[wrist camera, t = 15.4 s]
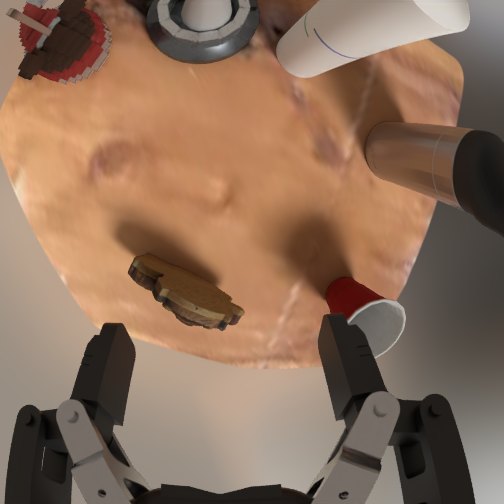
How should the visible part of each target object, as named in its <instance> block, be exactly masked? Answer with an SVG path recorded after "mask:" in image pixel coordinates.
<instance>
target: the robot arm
mask: <svg viewBox="0 0 504 504" xmlns="http://www.w3.org/2000/svg"><path fill="white" fill-rule="evenodd" d="M365 154H366V160H367V163H368V165H369V167H370V169H371V171H372V172H373V173H374V174H375V175H376V176H377V177H379V178H381V179H383V180H386V181H389V182H392V183H395V184H397V185H400V186H403V187H406V188H408V189H411V190H414V191H416V192H419V193H422V194H424V195H427V196H429V197H432V198H434V199H437V200H439V201H442V202H444V203H447V204H449V205H452V206H454V207H456V208H459V209H461V210H463V211H466V212H468V213H470V214H472V215H473V216H474V217H475V218H476V219H477V220H478V221H479V222H480V223H481V224H482V225H484V226H485V227H487V228H489V229H491V230H492V231H494V232H496V233H498V234H499V235H501V236H502V237H504V142H503V141H502V140H501V139H500V138H499V137H498V136H497V135H495V134H493V133H490V132H487V131H481V130H474V129H468V128H460V127H451V126H442V125H432V124H419V123H405V122H383V123H380V124H378V125H376V126H375V127H374V128H373V129H372V130H371V132H370V133H369V135H368V138H367V141H366V146H365ZM318 349H319V354H320V358H321V362H322V365H323V369H324V373H325V377H326V381H327V385H328V389H329V393H330V397H331V401H332V406H333V410H334V414H335V418H336V421H338V420H343V419H344V421H345V424H346V428H345V429H344V431H343V433H342V435H341V437H340V439H339V441H338V442H337V444H336V446H335V448H334V450H333V452H332V453H331V455H330V457H329V458H328V460H327V462H326V464H325V465H324V467H323V468H322V469H321V471H320V472H319V473H318V475H317V476H316V478H315V479H314V481H313V483H312V484H311V486H310V487H309V489H308V490H307V492H306V493H302V492H300V491H297V490H294V489H289V488H282V487H281V484H278V485H269V486H268V485H267V486H255V487H254V486H253V487H248V488H244V489H241V490H237V491H232V492H228V493H224V494H216V493H212V492H208V491H204V490H200V489H196V488H193V487H190V486H177V485H167V484H161V488H157V489H152V488H151V486H150V485H149V484H148V482H147V481H146V479H145V478H144V477H143V476H142V475H141V474H140V473H139V472H138V471H137V470H136V469H135V467H134V466H133V465H132V463H131V461H130V460H129V458H128V456H127V455H126V453H125V452H124V450H123V448H122V447H121V445H120V443H119V441H118V439H117V438H116V436H115V434H114V432H113V426H114V425H120V426H123V421H124V414H125V409H126V403H127V397H128V392H129V386H130V381H131V377H132V371H133V367H134V362H135V357H136V356H135V355H136V354H135V353H136V352H135V347H134V344H133V342H132V340H131V338H130V336H129V334H128V332H127V330H126V328H125V326H124V325H123V324H122V323H104V324H103V326H102V329H101V332H100V335H94V337H93V338H92V339H91V340H90V342H89V343H88V345H87V347H86V350H85V353H84V357H83V359H82V362H81V366H80V368H79V372H78V375H77V378H76V381H75V385H74V388H73V392H72V395H71V397H70V399H69V400H67V401H65V402H63V403H62V404H61V405H60V406H59V408H58V409H53V410H45V411H40V410H39V409H37V408H36V407H35V406H33V405H26V406H24V407H23V408H21V410H20V411H19V413H18V415H17V419H16V424H15V428H14V433H13V438H12V443H11V449H10V455H9V462H8V469H7V478H6V489H5V504H71V490H72V475H73V477H74V479H75V481H76V483H77V485H78V487H79V489H80V491H81V493H82V495H83V497H84V499H85V501H86V502H87V504H364V503H365V502H366V500H367V498H368V496H369V494H370V492H371V490H372V488H373V486H374V484H375V482H376V480H377V478H378V476H379V474H380V471H381V464H380V462H381V459H382V456H383V454H384V452H385V450H386V447H387V446H388V445H389V446H394V451H395V455H396V461H397V466H398V471H399V476H400V482H401V488H402V494H403V500H404V504H475V498H474V493H473V487H472V482H471V478H470V473H469V469H468V464H467V461H466V456H465V453H464V449H463V445H462V442H461V438H460V435H459V432H458V428H457V425H456V422H455V419H454V416H453V413H452V410H451V407H450V404H449V402H448V401H447V400H446V398H444V397H443V396H441V395H439V394H431V395H428V396H427V397H426V398H424V399H423V400H422V401H415V400H401V399H397V398H396V397H395V396H394V395H392V394H390V393H389V392H388V391H387V389H386V387H385V385H384V382H383V379H382V377H381V374H380V371H379V368H378V366H377V363H376V361H375V358H374V355H373V353H372V350H371V348H370V347H369V343H368V340H367V338H366V335H365V333H364V332H363V331H362V330H361V329H360V328H359V327H358V326H357V325H356V324H354V325H348V322H347V319H346V317H345V315H344V313H335V314H326V315H324V316H323V320H322V324H321V329H320V333H319V337H318ZM44 447H45V452H44ZM43 452H44V458H43ZM42 459H43V466H42ZM73 463H74V466H73Z"/></svg>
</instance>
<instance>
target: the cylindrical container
mask: <svg viewBox="0 0 504 504" xmlns="http://www.w3.org/2000/svg"><path fill="white" fill-rule="evenodd" d="M469 22H470V11H469V6H468V3H467V0H319V1H318V2H317V3H316V4H315V5H314V6H313V7H312V8H311V9H310V10H309V11H308V12H307V13H306V14H305V15H303V16H302V17H301V18H300V19H299V20H298V21H297V22H296V23H295V24H294V25H293V26H292V27H291V28H290V29H289V30H288V31H287V32H286V33H285V35H284V36H283V37H282V38H281V39H280V40H279V42H278V44H277V47H276V56H277V59H278V61H279V63H280V65H281V66H282V67H283V68H284V69H285V70H286V71H287V72H289V73H290V74H292V75H294V76H297V77H301V78H310V77H314V76H317V75H319V74H321V73H324V72H326V71H329V70H331V69H333V68H336V67H339V66H341V65H344V64H346V63H349V62H352V61H354V60H357V59H360V58H363V57H366V56H369V55H372V54H375V53H378V52H381V51H384V50H387V49H390V48H394V47H397V46H401V45H404V44H408V43H412V42H415V41H419V40H423V39H427V38H432V37H436V36H441V35H446V34H451V33H456V32H461V31H464V30H465V29H466V28H467V27H468V25H469Z"/></svg>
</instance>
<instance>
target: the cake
mask: <svg viewBox="0 0 504 504" xmlns="http://www.w3.org/2000/svg"><path fill="white" fill-rule="evenodd" d="M85 1H86V0H64V2H63V3H62V4H61V5H59V6H58V7H55V8H54V9H49V8H47V9H46V10H45V9H41V8H42V7H43V5H44V4H45V3H46V2H47V0H27V1H26V3H27V4H26V6H25V7H24V9H25V10H24V11H23V13H21V12H19V11H17V10H15V9H13V8H10V9H9V11H8V12H7V13H6V15H8V16H10V17H12V18H14V19H16V20H18V21H20V23H21V25H20V27H21V28H20V33H19V34H20V36H19V38H22V39H21V42H23V43H22V46H24V47H25V49H24V50H25V52H24V53H25V55H24V59H23V61H22V62H21V64H20V66H19V68H18V69H20V70H21V71H20V72H19V74H18V75H19V76H21V77H23V78H25V79H29V80H31V79H32V77H33V75H37V74H39V75H41V76H43V77H45V78H47V79H49V80H52V81H56V82H58V81H60V82H61V83H63V84H66V85H67V83H68V82H69V81H71V82H73V83H75V84H76V83H77V82H78V80H80V81H83V79H84V78H85V77H86V78H88V79H89V77H90V76H91V74H92V73H93V71H94V70H95V71H97V72H98V71H99V70H100V68H101V67H102V65H103V64H104V63H105V61H106V60H107V58H108V57H109V56H110V54H109V53H107V52H108V50H109V49H110V48H111V46H112V44H111V43H109V42H110V41H111V40H112V38H111V37H109V36H110V35H111V32H110V31H108V30H105V29H106V28H107V25H106V24H104V23H102V22H101V20H102V19H101V18H100V17H99V16H98V15H97V14H96V13H95V12H93V11H90V10H88V9H85V8H84V7H85V3H84V2H85Z"/></svg>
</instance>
